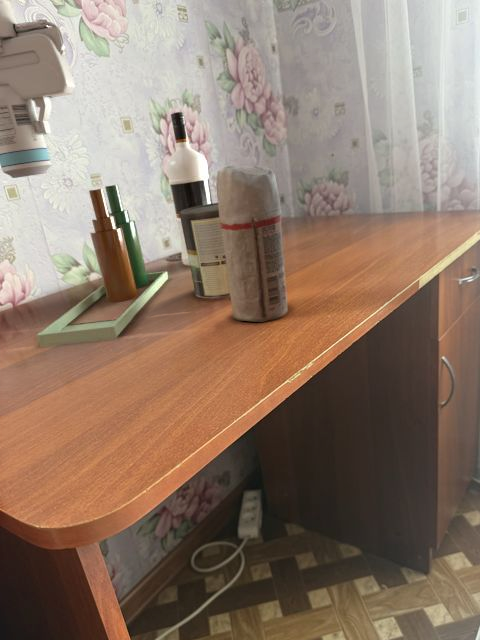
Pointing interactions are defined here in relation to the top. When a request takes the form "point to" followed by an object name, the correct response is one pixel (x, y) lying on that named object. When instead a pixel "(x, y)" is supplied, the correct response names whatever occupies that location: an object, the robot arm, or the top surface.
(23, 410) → the top surface
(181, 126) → the vodka
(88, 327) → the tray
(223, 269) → the coffee can
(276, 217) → the spray can
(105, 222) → the amber bottle
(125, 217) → the green bottle
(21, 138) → the beverage can
